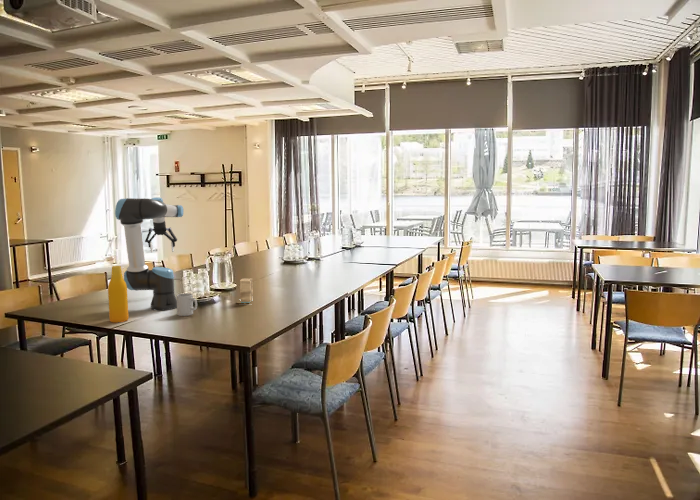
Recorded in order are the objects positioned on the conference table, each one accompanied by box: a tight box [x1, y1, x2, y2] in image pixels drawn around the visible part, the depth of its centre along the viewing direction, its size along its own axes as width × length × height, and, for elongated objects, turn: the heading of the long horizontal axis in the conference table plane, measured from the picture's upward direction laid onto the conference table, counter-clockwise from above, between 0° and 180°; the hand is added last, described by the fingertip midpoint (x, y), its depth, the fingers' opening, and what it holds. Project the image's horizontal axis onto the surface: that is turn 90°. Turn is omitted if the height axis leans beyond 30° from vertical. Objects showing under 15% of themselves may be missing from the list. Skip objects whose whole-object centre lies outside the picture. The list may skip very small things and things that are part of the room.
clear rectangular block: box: [239, 278, 254, 303], centre depth 314 cm, size 6×6×14 cm
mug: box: [176, 292, 198, 317], centre depth 287 cm, size 12×8×11 cm
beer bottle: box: [107, 265, 130, 324], centre depth 272 cm, size 9×9×29 cm
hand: (162, 251), depth 346 cm, fingers open, 13 cm apart
